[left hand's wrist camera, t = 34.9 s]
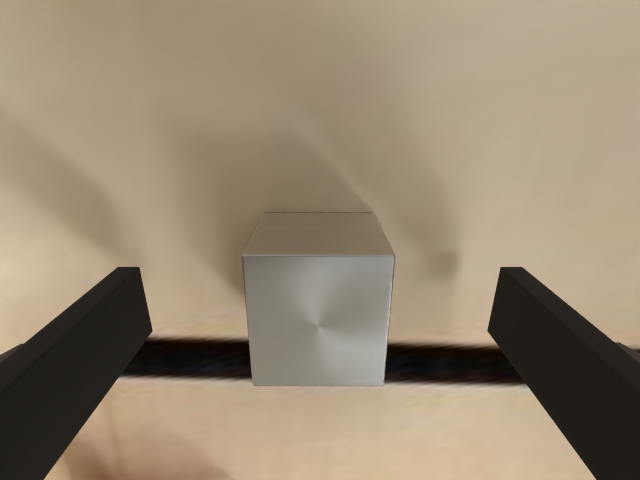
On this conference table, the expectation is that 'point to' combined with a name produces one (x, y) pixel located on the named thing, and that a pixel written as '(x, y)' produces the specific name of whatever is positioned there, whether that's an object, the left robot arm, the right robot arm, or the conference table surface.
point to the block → (318, 299)
